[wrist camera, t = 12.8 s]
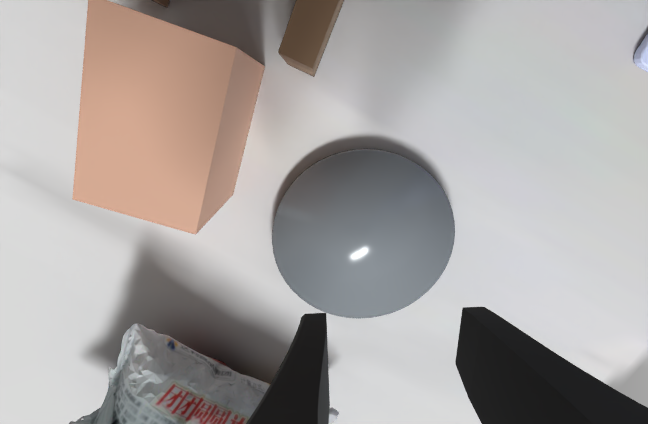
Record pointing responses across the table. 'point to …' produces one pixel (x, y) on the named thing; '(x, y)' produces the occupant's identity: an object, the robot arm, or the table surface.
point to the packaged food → (175, 386)
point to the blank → (160, 118)
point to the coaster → (363, 233)
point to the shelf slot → (305, 32)
